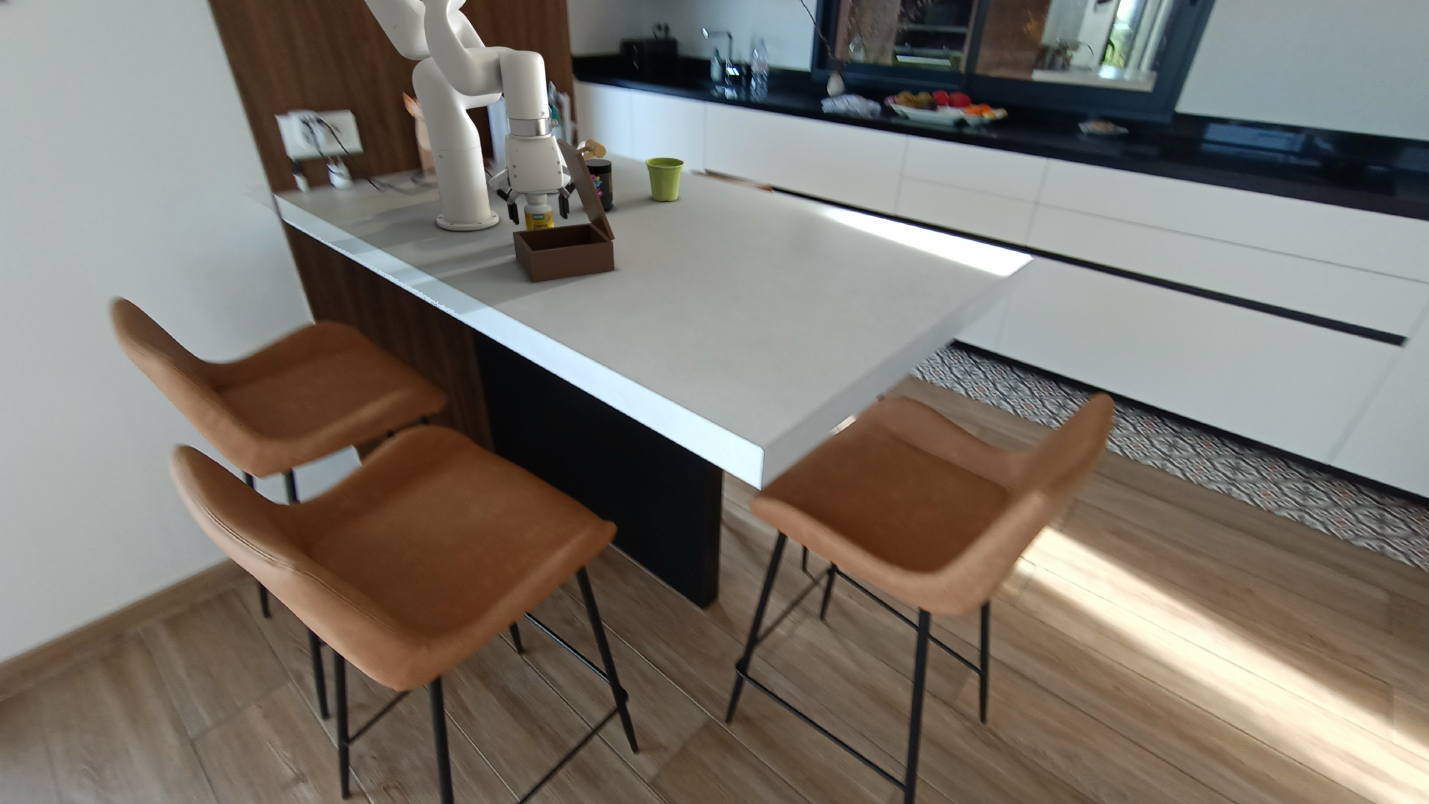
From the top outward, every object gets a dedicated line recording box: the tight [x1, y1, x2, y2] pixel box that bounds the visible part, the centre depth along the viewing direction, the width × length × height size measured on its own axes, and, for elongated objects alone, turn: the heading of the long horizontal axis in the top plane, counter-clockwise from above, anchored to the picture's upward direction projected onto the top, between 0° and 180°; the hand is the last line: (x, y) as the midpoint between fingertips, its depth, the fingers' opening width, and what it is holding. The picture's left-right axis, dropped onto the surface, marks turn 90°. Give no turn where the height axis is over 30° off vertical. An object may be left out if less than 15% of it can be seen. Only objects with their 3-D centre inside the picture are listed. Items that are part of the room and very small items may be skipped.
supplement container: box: [584, 158, 614, 213], centre depth 150 cm, size 7×7×10 cm
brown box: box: [512, 222, 615, 283], centre depth 121 cm, size 15×12×5 cm
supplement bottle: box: [523, 191, 555, 230], centre depth 130 cm, size 5×5×10 cm
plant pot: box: [644, 157, 685, 202], centre depth 160 cm, size 9×9×9 cm
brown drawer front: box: [556, 138, 616, 242], centre depth 118 cm, size 16×12×6 cm
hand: (540, 220), depth 130 cm, fingers open, 9 cm apart
